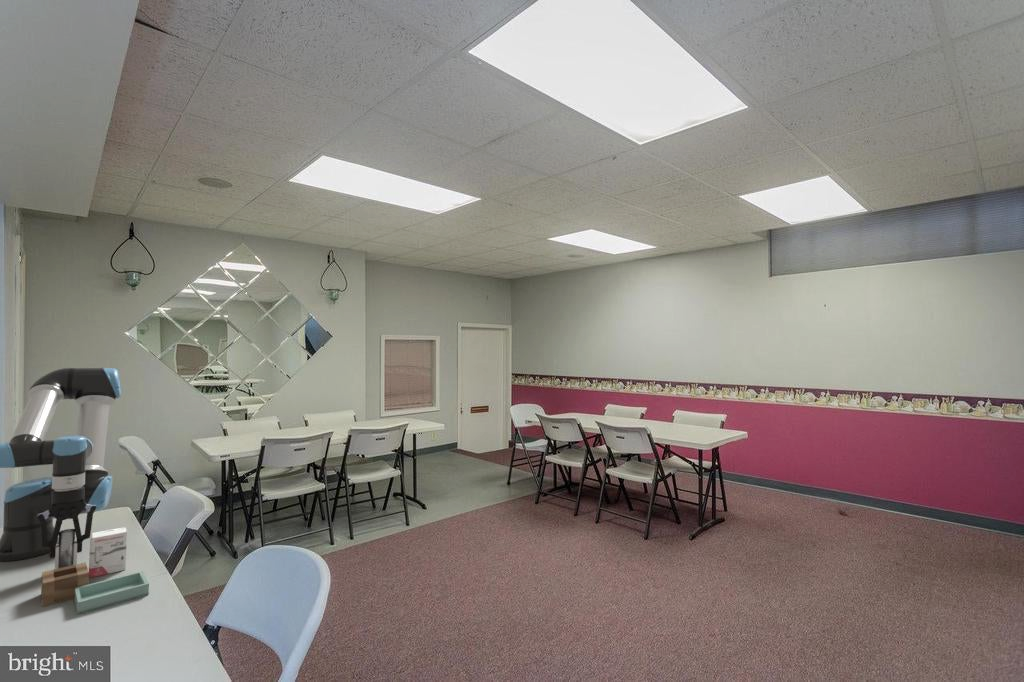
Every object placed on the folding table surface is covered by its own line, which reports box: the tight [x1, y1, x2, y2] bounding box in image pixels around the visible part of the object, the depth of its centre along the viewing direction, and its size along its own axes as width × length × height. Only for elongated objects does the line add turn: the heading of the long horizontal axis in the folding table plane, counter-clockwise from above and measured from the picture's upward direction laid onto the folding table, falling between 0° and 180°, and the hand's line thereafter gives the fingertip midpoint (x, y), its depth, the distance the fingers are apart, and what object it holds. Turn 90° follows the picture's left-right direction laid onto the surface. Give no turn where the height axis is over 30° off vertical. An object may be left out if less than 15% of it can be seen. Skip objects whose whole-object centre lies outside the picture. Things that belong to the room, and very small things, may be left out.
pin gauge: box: [58, 528, 76, 568], centre depth 146 cm, size 4×4×12 cm
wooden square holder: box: [40, 562, 90, 607], centre depth 132 cm, size 9×9×6 cm
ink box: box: [88, 527, 128, 579], centre depth 146 cm, size 9×5×12 cm, turn 132°
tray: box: [73, 570, 150, 615], centre depth 131 cm, size 11×15×3 cm
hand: (65, 565), depth 146 cm, fingers closed on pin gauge, 3 cm apart
